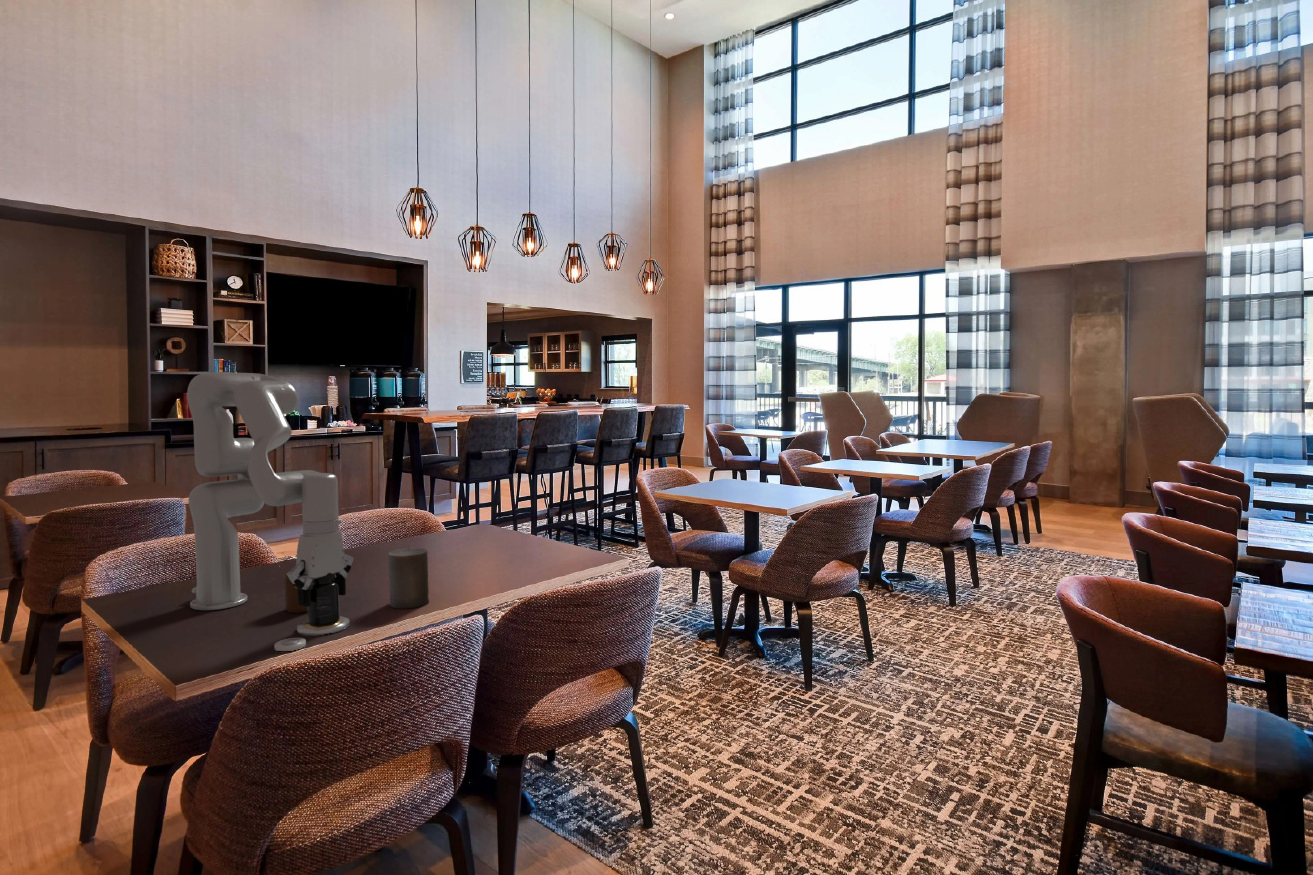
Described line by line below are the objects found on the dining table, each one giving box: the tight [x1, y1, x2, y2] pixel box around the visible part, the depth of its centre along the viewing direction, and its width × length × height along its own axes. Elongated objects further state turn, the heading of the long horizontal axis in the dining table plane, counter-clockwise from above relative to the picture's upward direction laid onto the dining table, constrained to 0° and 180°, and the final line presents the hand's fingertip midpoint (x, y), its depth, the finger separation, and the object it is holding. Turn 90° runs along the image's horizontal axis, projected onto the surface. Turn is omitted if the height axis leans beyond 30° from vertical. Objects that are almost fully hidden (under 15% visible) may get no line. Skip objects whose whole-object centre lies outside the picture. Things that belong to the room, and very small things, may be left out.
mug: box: [284, 571, 336, 614], centre depth 181 cm, size 12×8×9 cm, turn 134°
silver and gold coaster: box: [296, 615, 350, 637], centre depth 166 cm, size 11×11×1 cm
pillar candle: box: [387, 546, 430, 609], centre depth 185 cm, size 10×10×15 cm
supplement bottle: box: [306, 572, 341, 626], centre depth 166 cm, size 7×7×12 cm
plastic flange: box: [274, 637, 307, 652], centre depth 153 cm, size 6×6×1 cm
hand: (322, 599), depth 166 cm, fingers open, 9 cm apart
